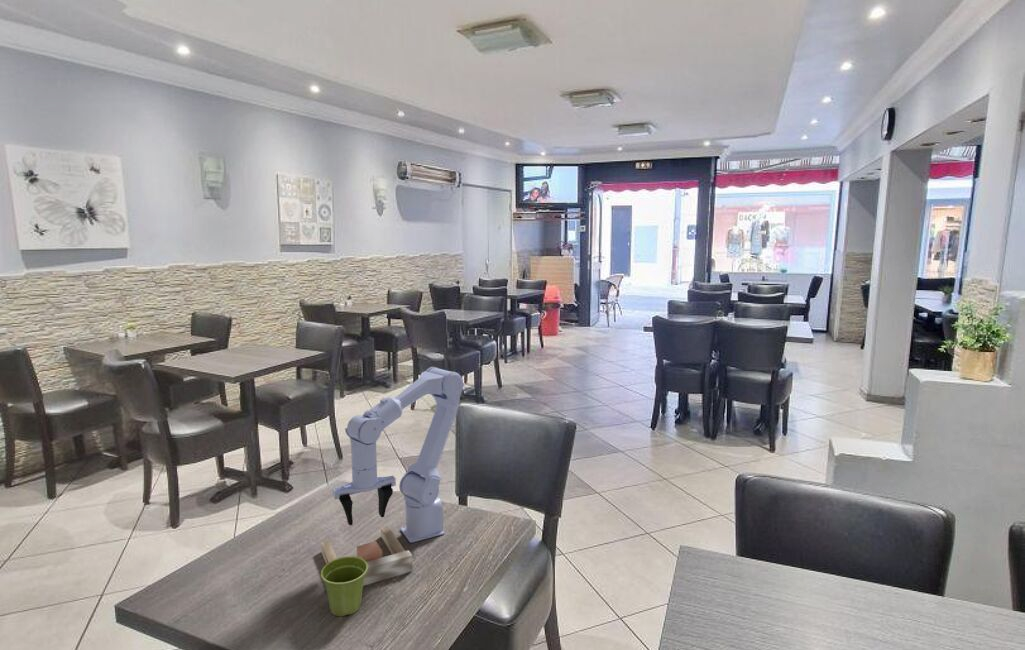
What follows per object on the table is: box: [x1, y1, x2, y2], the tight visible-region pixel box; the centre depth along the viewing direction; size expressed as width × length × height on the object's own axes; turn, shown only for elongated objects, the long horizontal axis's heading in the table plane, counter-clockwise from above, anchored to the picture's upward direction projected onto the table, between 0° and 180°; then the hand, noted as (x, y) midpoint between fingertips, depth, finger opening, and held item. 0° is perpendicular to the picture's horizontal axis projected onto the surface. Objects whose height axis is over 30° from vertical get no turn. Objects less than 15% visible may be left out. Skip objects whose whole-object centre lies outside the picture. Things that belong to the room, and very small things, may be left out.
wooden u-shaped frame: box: [320, 525, 413, 587], centre depth 130 cm, size 17×18×4 cm
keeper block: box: [356, 540, 383, 562], centre depth 126 cm, size 4×4×6 cm
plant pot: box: [320, 556, 368, 617], centre depth 113 cm, size 9×9×9 cm
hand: (366, 519), depth 130 cm, fingers open, 7 cm apart
